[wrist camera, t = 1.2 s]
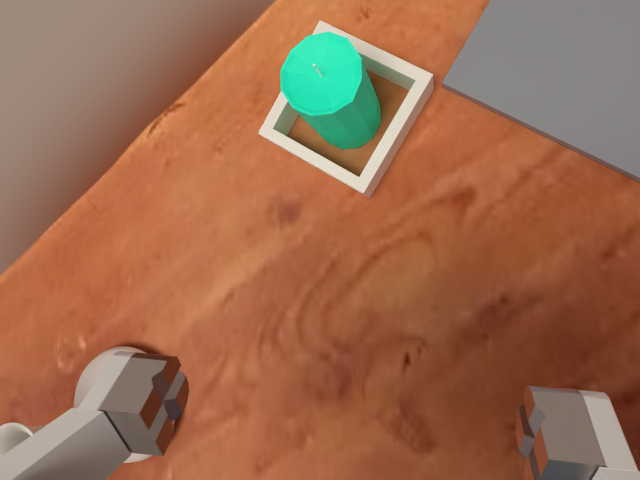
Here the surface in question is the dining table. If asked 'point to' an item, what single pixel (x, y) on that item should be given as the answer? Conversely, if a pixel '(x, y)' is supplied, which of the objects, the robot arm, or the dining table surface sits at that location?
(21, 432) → the flower in vase
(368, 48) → the square frame
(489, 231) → the dining table surface
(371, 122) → the candle
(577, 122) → the slate tile
